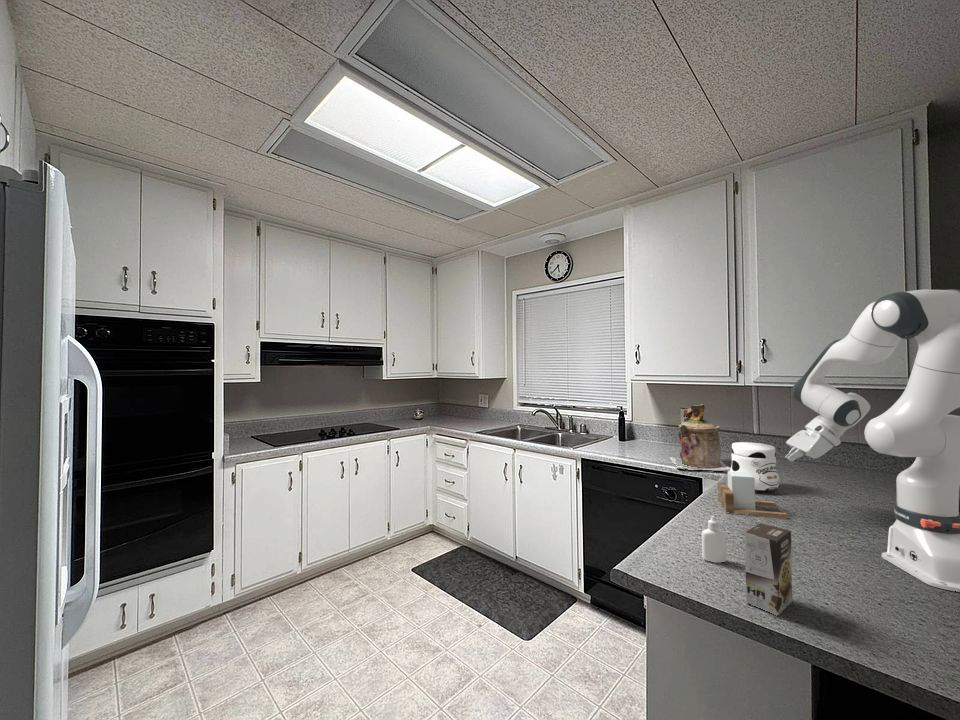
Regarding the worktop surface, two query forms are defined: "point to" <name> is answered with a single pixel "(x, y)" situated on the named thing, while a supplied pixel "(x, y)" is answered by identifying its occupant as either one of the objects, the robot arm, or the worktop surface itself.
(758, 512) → the guide rails
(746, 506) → the supplement box
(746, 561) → the coffee box
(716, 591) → the worktop surface
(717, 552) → the eye dropper bottle
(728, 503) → the stop board
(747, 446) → the milk container
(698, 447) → the cookie jar
